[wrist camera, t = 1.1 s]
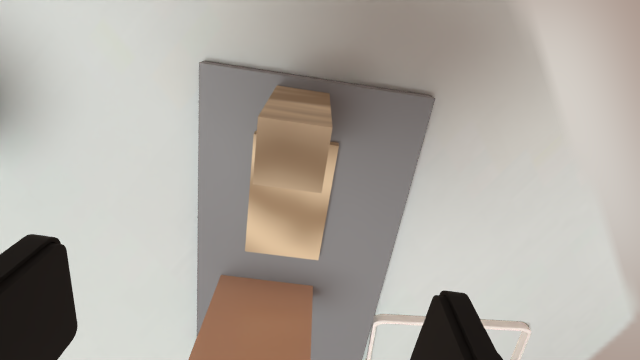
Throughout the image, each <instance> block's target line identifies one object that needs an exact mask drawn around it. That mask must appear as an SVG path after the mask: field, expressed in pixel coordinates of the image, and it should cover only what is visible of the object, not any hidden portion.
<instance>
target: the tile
mask: <svg viewBox="0 0 640 360" xmlns="http://www.w3.org/2000/svg"><path fill="white" fill-rule="evenodd" d="M312 300H313V286H310V285H302V284H293V283H285V282H277V281H268V280H260V279H252V278H243V277H235V276H226V275H221V276H220V278H219V281H218V284H217V286H216V289H215V292H214V294H213V297H212V299H211V302H210V305H209V307H208V310H207V313H206V315H205V318H204V320H203V323H202V326H201V328H200V331H199V334H198V336H197V339H196V341H195V344H194V347H193V349H192V352H191V355H190V357H189V360H311V331H312Z"/></svg>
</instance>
